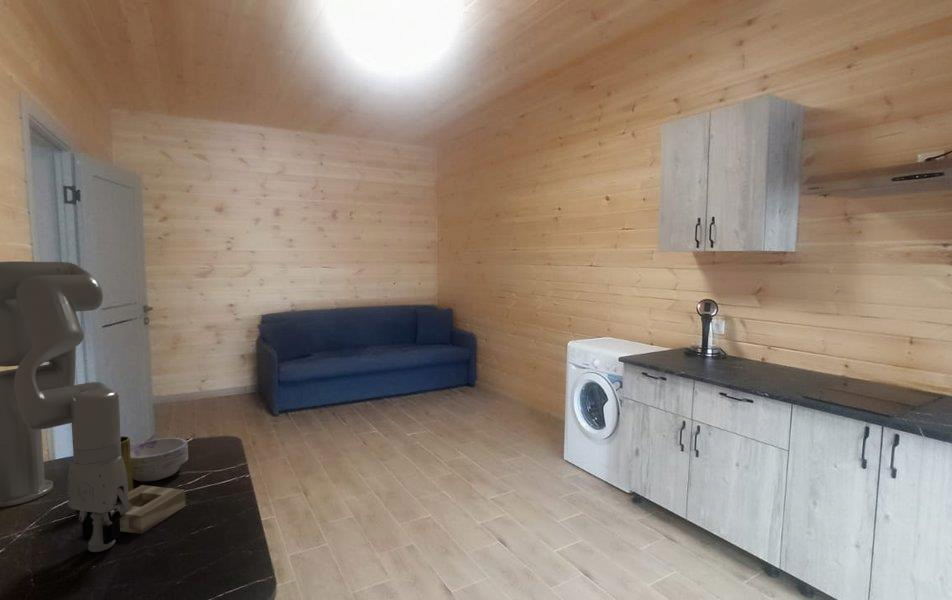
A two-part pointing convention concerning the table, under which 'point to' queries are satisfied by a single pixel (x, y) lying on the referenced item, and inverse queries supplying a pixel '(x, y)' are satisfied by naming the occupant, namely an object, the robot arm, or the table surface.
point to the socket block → (150, 507)
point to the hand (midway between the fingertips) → (101, 537)
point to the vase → (127, 460)
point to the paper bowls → (157, 458)
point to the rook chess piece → (98, 534)
